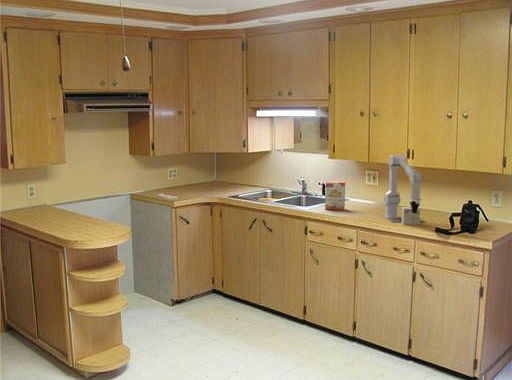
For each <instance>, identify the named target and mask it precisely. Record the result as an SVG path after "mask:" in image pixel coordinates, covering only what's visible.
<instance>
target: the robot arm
mask: <svg viewBox="0 0 512 380" xmlns="http://www.w3.org/2000/svg"><path fill="white" fill-rule="evenodd" d="M388 167H389V175H388V181H389V182H388V184H389V185H388V191H387V192H386V193H384V197H383V202H384V204H385V205H386V206H385V214H384V215H383V216H384V217H385V218H386V219H400V218H399V216H398V206H399V204H400V203H401V194H400V192H398V191H397V189H398V168H400V167H402V168H403V169H404V172H405V174H406V175H407V176H408V178H409V179H408V180H409V184H410V198H409V200H410V202H409V204H410V207H412V213H417V209H418V208H419V206H420V205H421V201H422V200H423V199H422V198H421V183H422V181H423V179H424V178H423V173H421V172H418V171H417V170H416V168H414V166H413V165H410V164H409V163H408V161H407V157H406V156H405V155H404V154H401V155H399V154H395V155H393V154H391V155H390V156H388Z"/></svg>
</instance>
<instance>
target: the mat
mask: <svg viewBox="0 0 512 380" xmlns="http://www.w3.org/2000/svg"><path fill="white" fill-rule="evenodd" d="M389 221H390V222H392V223H402V218H401V219H400V218H399V219H389ZM420 223H426V221H425V220H423V219H420Z"/></svg>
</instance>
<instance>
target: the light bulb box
mask: <svg viewBox="0 0 512 380" xmlns="http://www.w3.org/2000/svg"><path fill="white" fill-rule="evenodd" d="M420 218H421V208H419V207H418V209H417V213H412V207H411V206H406V207H405V206H402V207H401V219H402V222H401V225H403V226H405V225H406V226H410V225H411V226H418V225H419V226H420V223H421V222H420Z"/></svg>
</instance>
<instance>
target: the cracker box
mask: <svg viewBox="0 0 512 380" xmlns="http://www.w3.org/2000/svg"><path fill="white" fill-rule="evenodd" d="M324 202H325V204H324V205H325V206H324V209H325V210H332V211H333V210H334V211H345V205H346V203H345V202H346V181H339V180H338V181H336V180H327V181H326V182H325V201H324Z"/></svg>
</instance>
